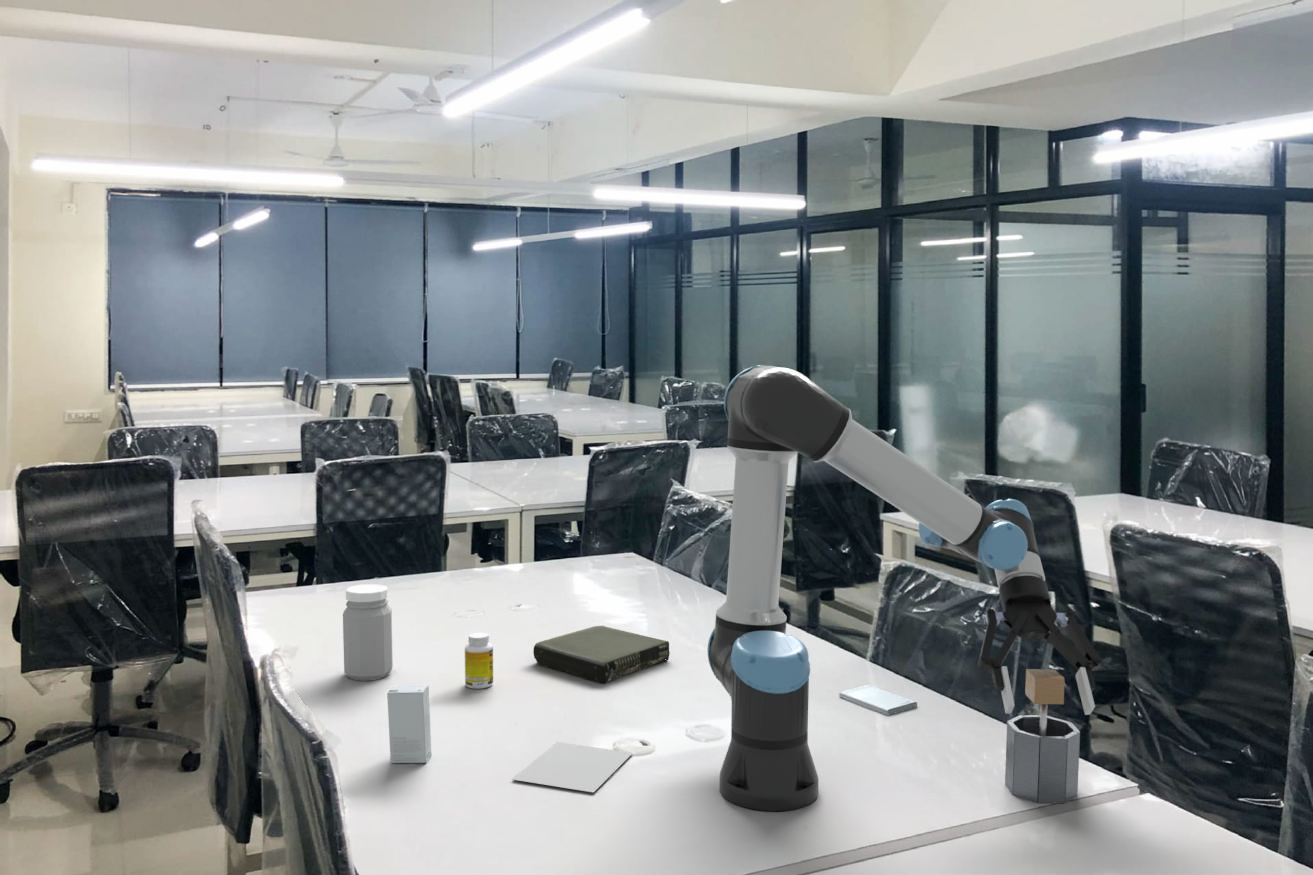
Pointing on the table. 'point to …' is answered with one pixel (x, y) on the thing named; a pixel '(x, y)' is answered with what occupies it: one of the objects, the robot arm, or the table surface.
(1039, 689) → the plunger
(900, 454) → the robot arm
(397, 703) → the skincare box
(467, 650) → the supplement bottle
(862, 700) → the hard drive
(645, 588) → the table surface
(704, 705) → the table surface
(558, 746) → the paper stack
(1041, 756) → the octagonal metal cup
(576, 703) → the table surface
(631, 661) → the network switch
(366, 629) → the jar
